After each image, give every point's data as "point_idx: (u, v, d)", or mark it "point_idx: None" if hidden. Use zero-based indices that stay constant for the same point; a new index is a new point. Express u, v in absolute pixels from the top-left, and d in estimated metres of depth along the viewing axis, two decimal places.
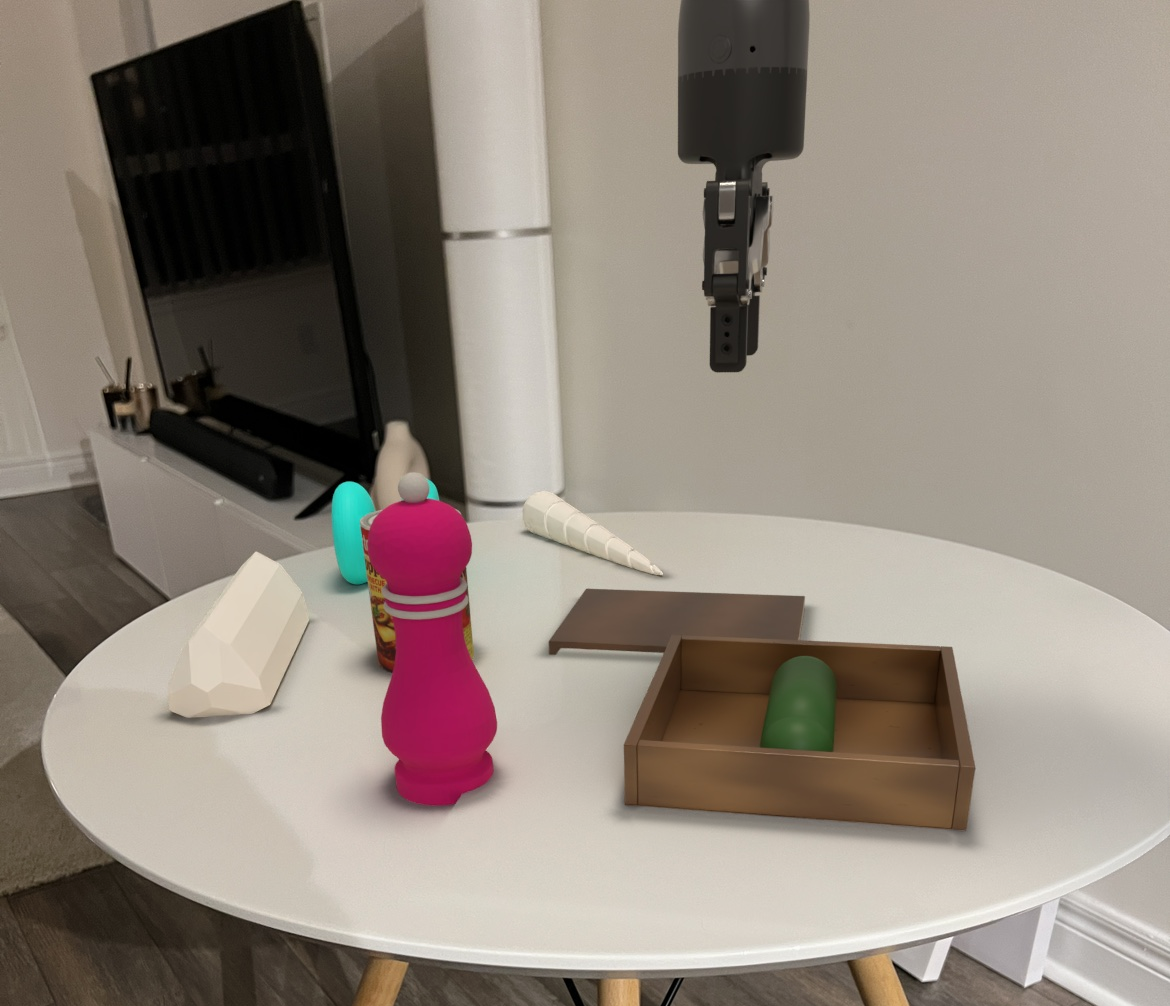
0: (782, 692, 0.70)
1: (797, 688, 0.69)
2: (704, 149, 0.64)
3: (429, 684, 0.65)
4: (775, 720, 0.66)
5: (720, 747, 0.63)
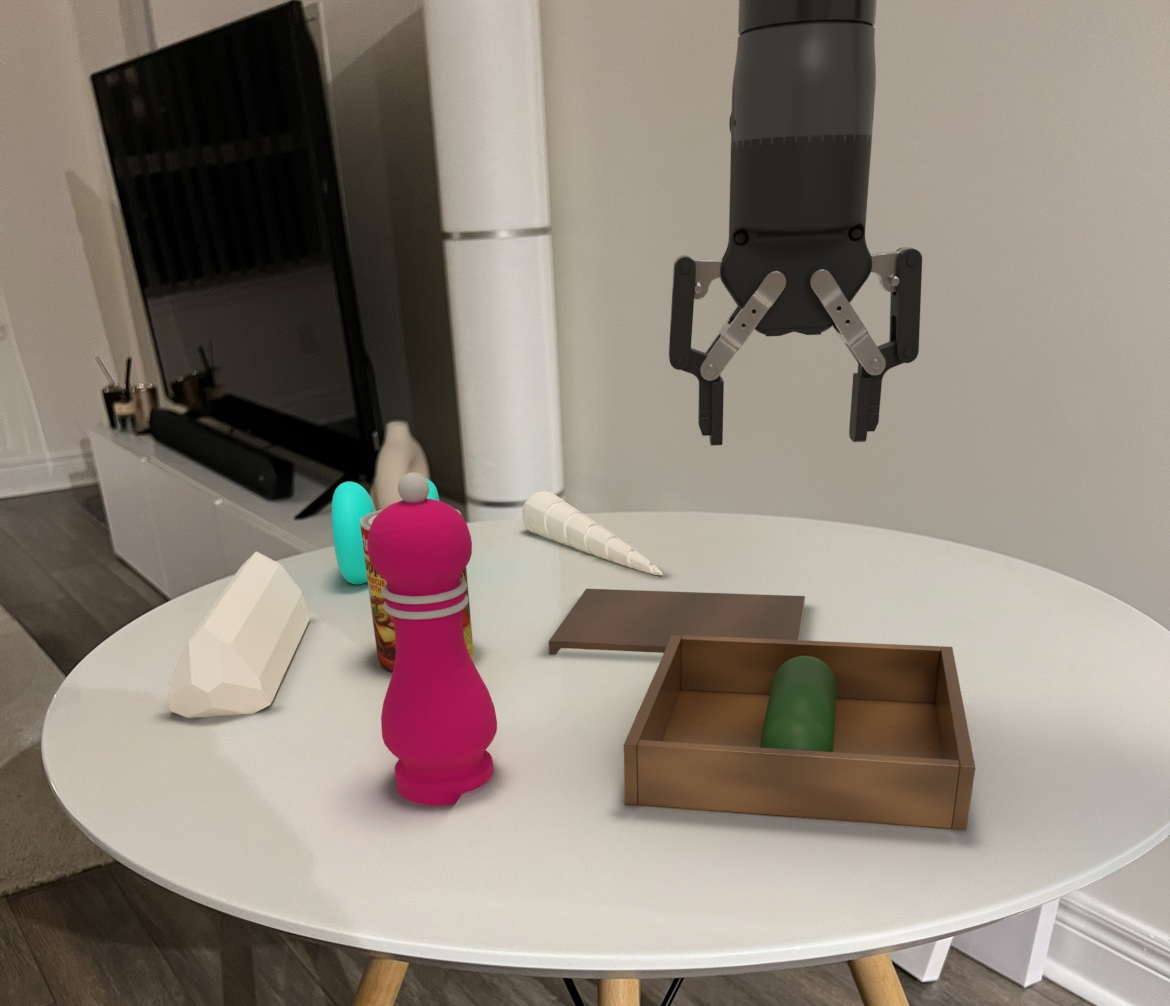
0: (782, 692, 0.70)
1: (797, 688, 0.69)
2: None
3: (429, 684, 0.65)
4: (775, 720, 0.66)
5: (720, 747, 0.63)
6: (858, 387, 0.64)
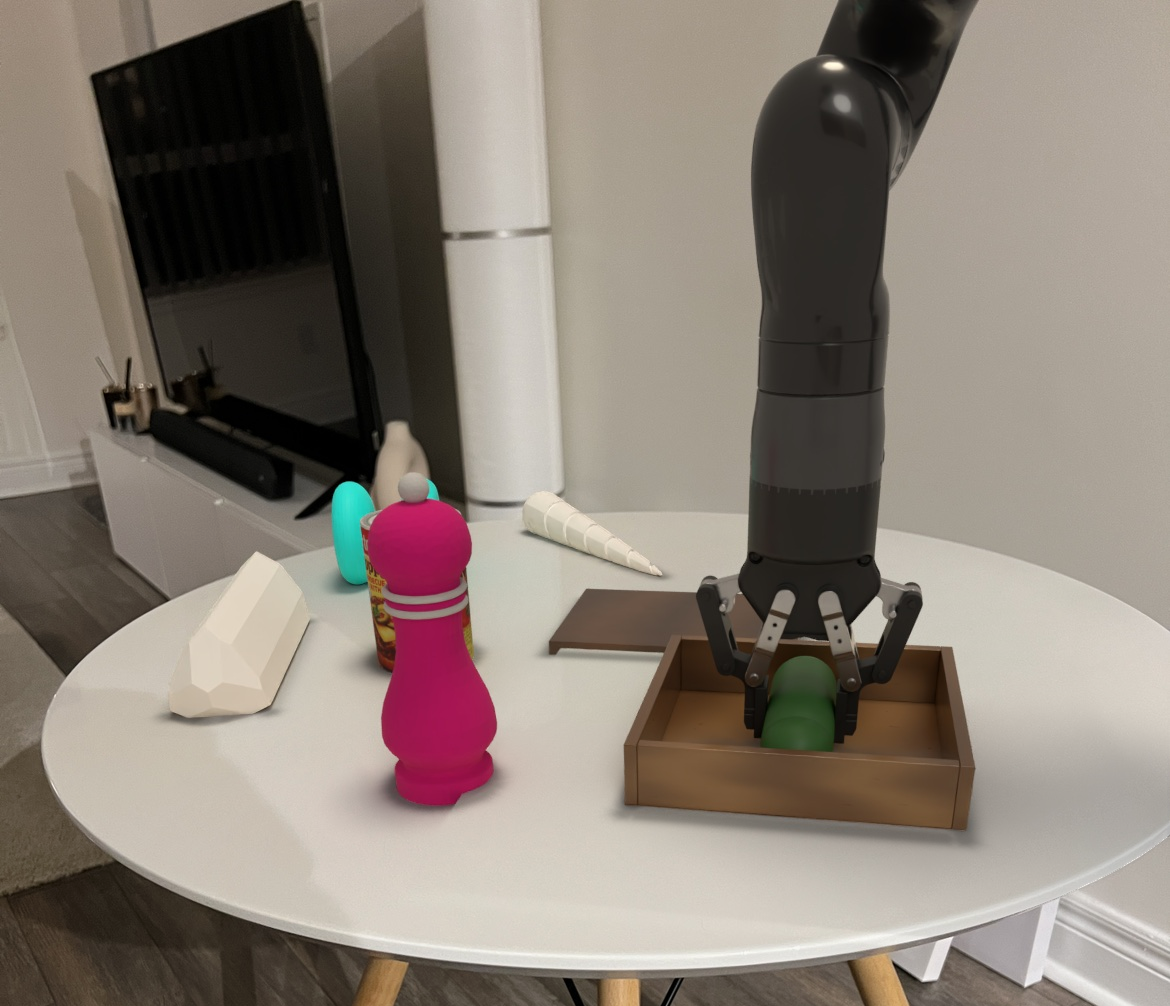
0: (782, 692, 0.70)
1: (797, 688, 0.69)
2: None
3: (429, 684, 0.65)
4: (775, 720, 0.66)
5: (720, 747, 0.63)
6: (836, 699, 0.69)
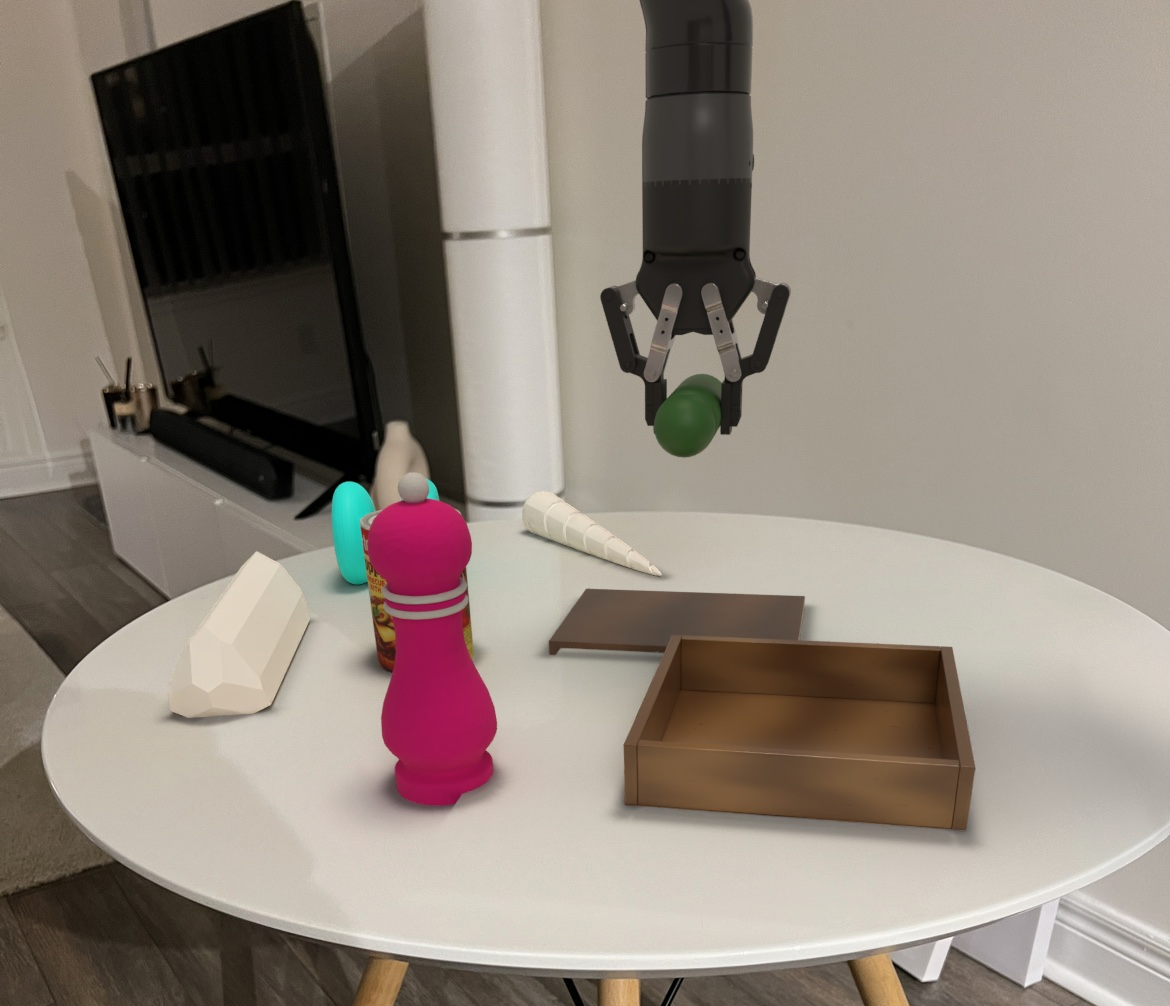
0: (677, 388, 0.81)
1: (688, 384, 0.81)
2: None
3: (429, 684, 0.65)
4: (666, 399, 0.78)
5: (720, 747, 0.63)
6: (721, 390, 0.81)
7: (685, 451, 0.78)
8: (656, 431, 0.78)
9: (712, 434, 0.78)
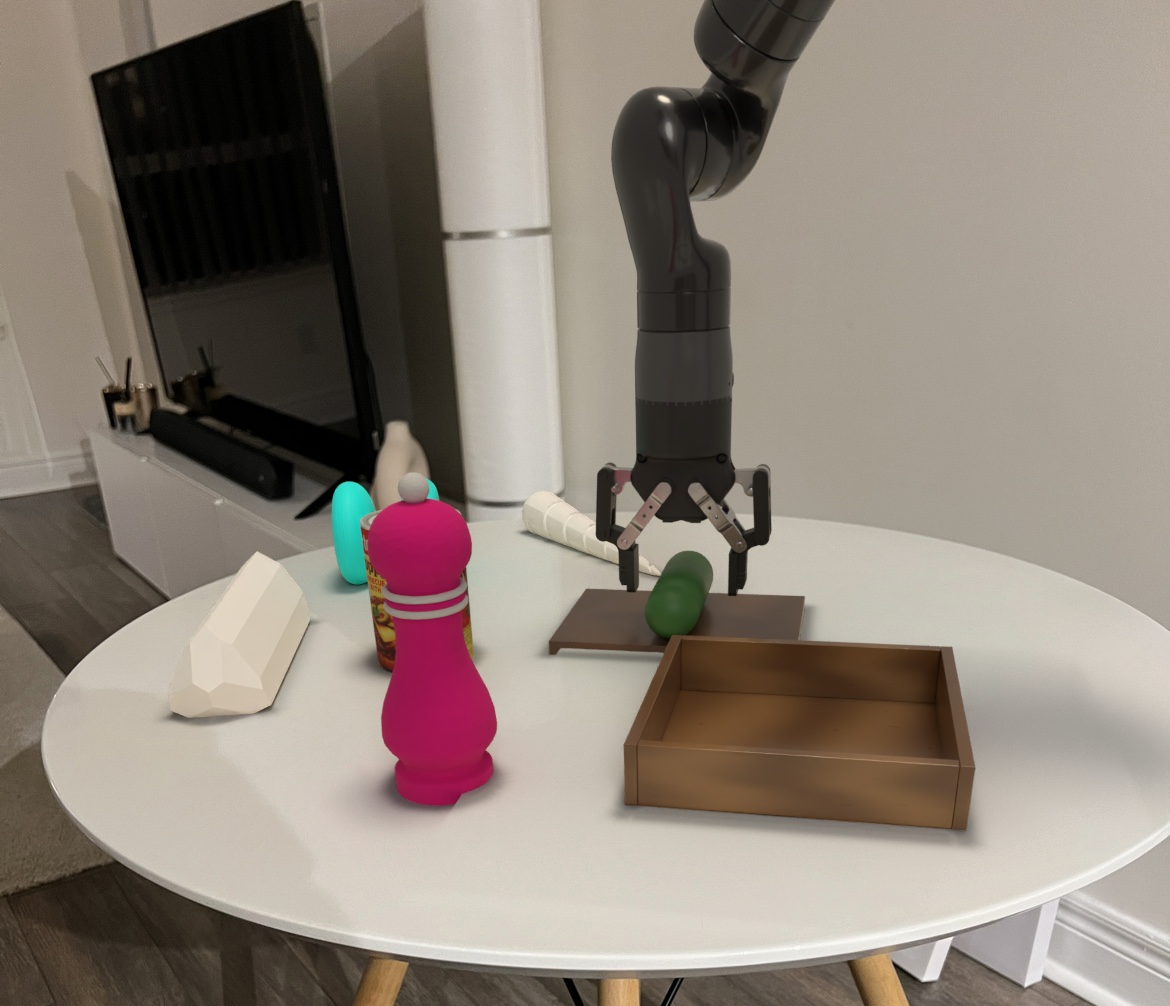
0: (665, 573, 0.92)
1: (675, 569, 0.91)
2: None
3: (429, 684, 0.65)
4: (655, 590, 0.88)
5: (720, 747, 0.63)
6: (729, 559, 0.90)
7: None
8: (646, 618, 0.88)
9: (696, 619, 0.88)
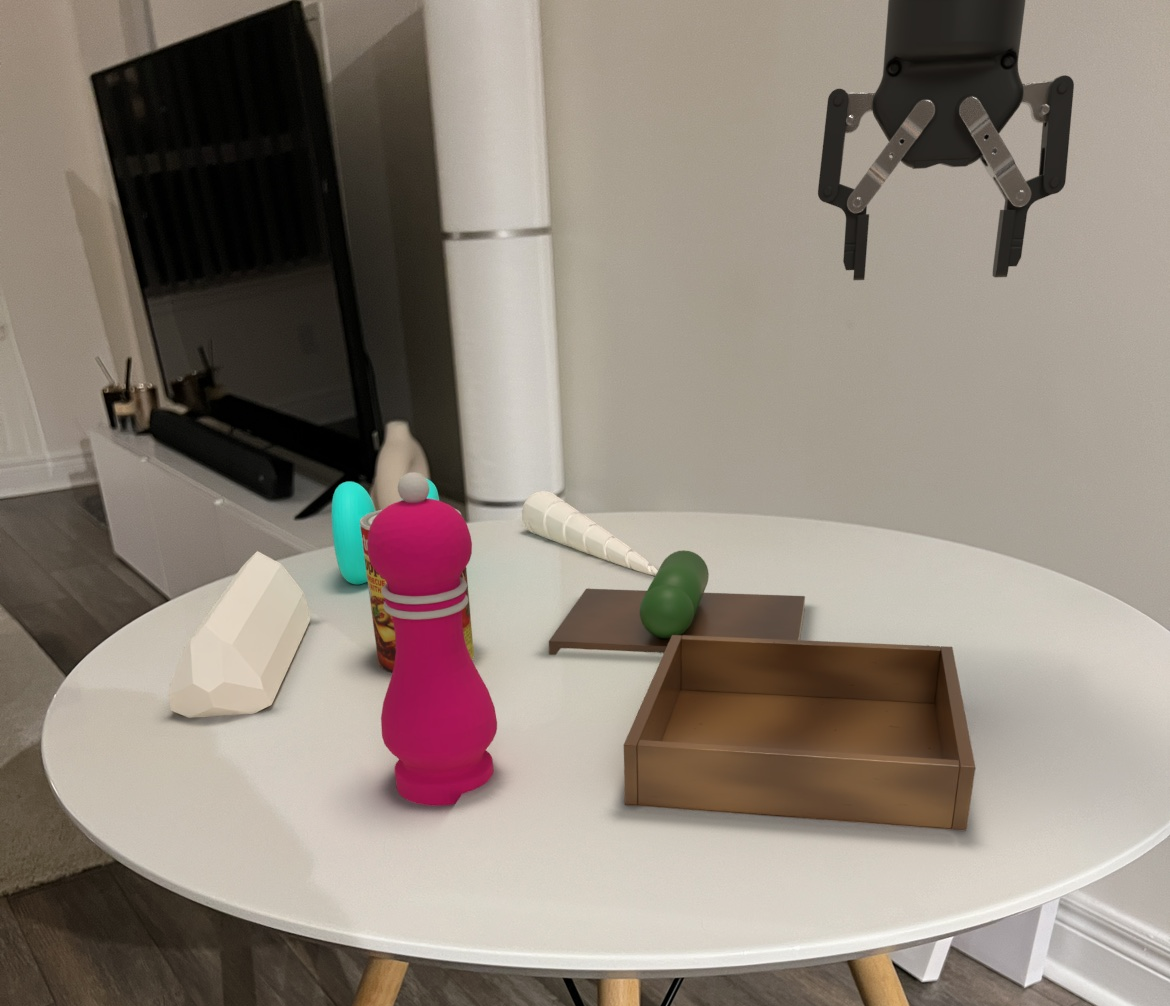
0: (656, 576, 0.92)
1: (665, 570, 0.92)
2: None
3: (429, 684, 0.65)
4: (646, 593, 0.89)
5: (720, 747, 0.63)
6: (1002, 220, 0.66)
7: (671, 634, 0.88)
8: (643, 622, 0.88)
9: (692, 614, 0.88)
